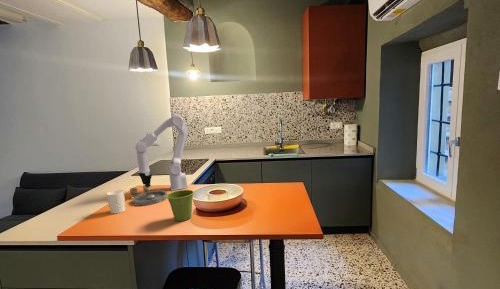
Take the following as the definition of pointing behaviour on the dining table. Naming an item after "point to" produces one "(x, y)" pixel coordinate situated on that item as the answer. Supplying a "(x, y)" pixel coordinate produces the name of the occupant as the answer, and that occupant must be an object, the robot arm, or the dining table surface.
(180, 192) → the plant pot
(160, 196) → the groove dish
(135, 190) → the bead
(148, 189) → the bead
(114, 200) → the white cup
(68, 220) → the dining table surface
